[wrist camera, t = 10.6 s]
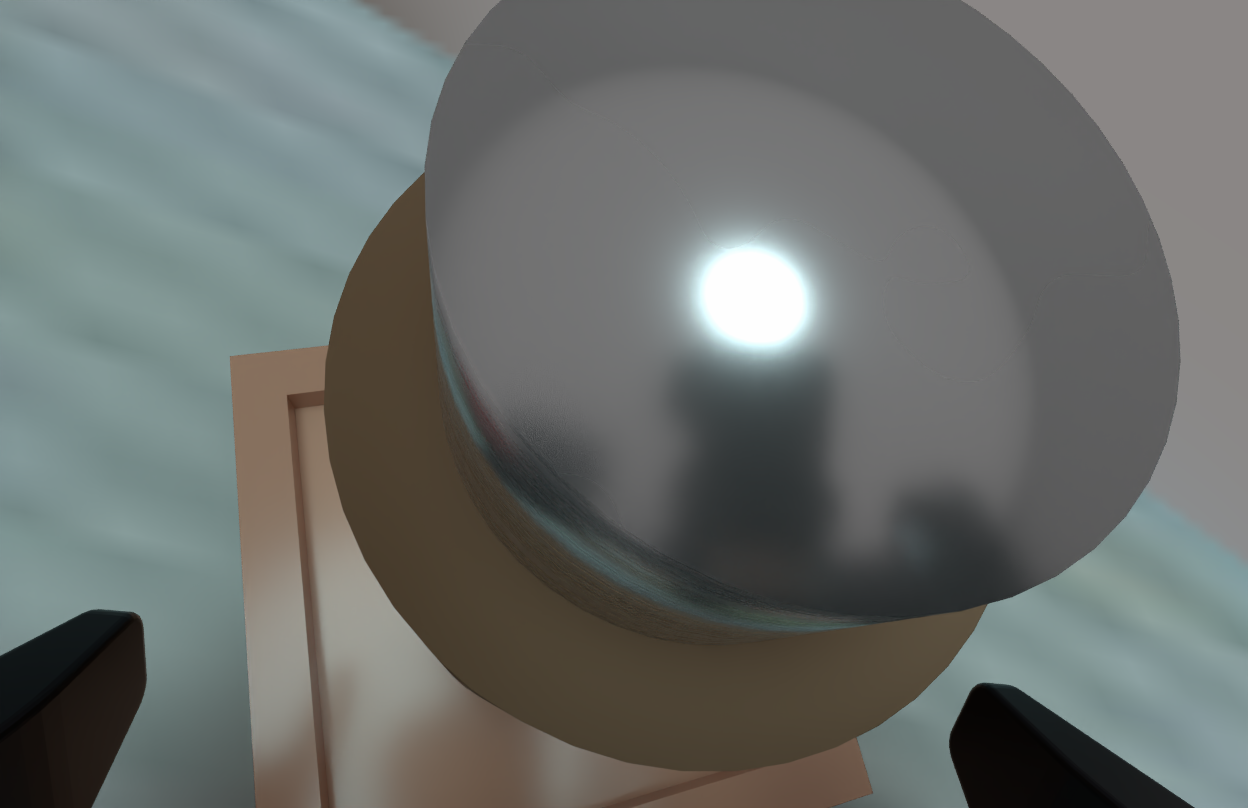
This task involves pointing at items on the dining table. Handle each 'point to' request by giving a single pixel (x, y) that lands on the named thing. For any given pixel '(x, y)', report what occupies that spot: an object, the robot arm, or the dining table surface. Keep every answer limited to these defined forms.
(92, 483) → the dining table surface
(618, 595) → the pepper mill
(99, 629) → the robot arm
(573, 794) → the stand
